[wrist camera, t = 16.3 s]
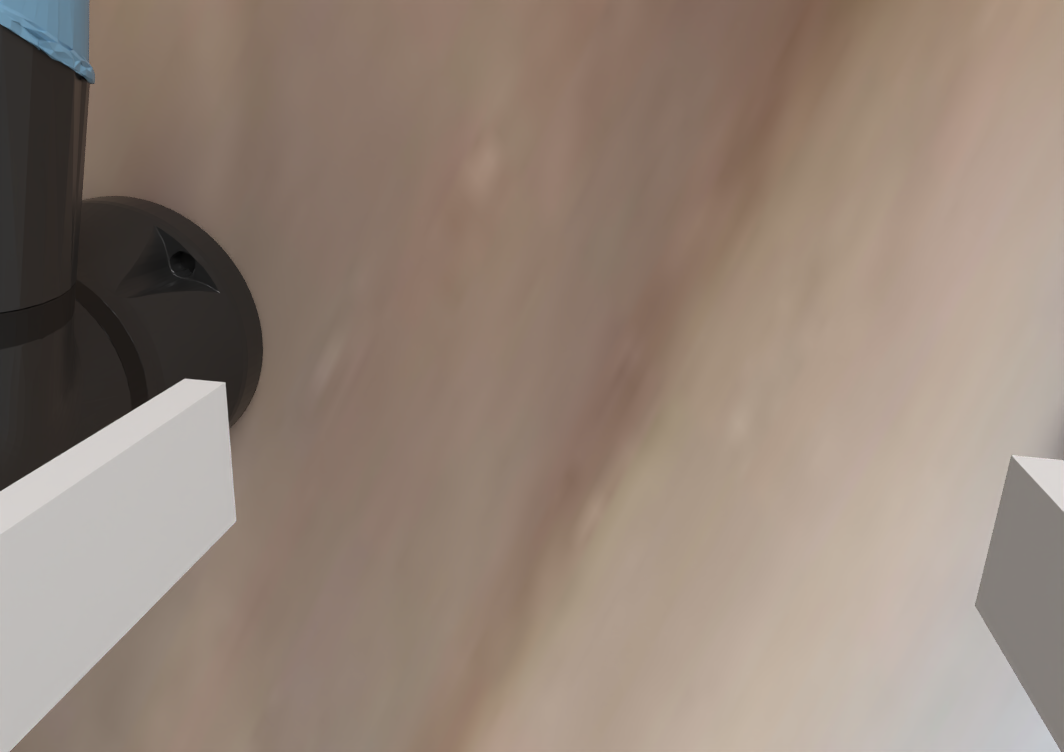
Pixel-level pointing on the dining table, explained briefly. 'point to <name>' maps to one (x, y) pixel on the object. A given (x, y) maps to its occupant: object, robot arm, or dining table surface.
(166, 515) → the robot arm
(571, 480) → the dining table surface
